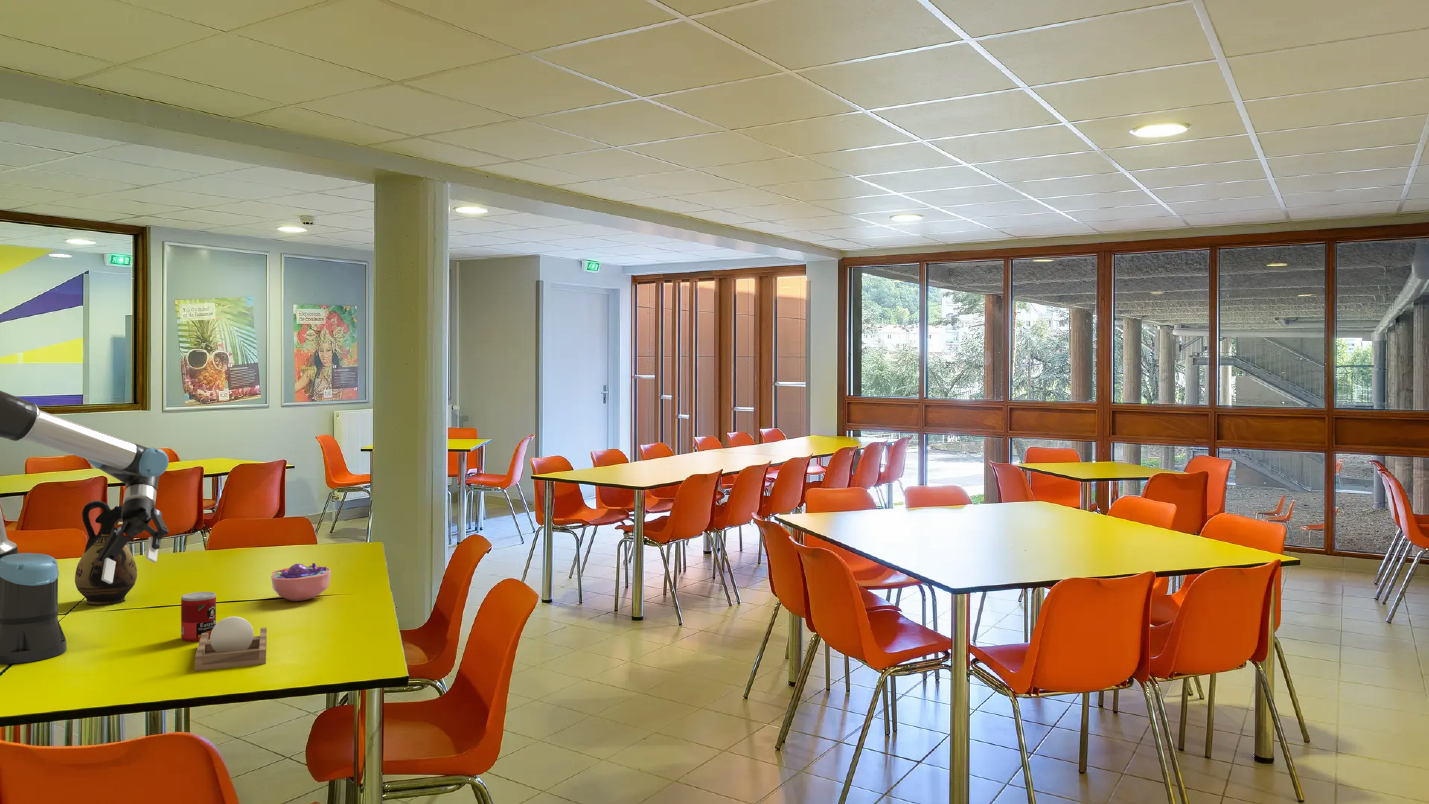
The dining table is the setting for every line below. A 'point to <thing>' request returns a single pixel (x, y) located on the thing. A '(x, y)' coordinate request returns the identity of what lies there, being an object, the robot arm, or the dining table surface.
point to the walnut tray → (230, 654)
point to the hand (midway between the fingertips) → (128, 570)
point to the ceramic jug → (91, 569)
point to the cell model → (301, 581)
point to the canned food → (197, 615)
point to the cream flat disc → (231, 635)
